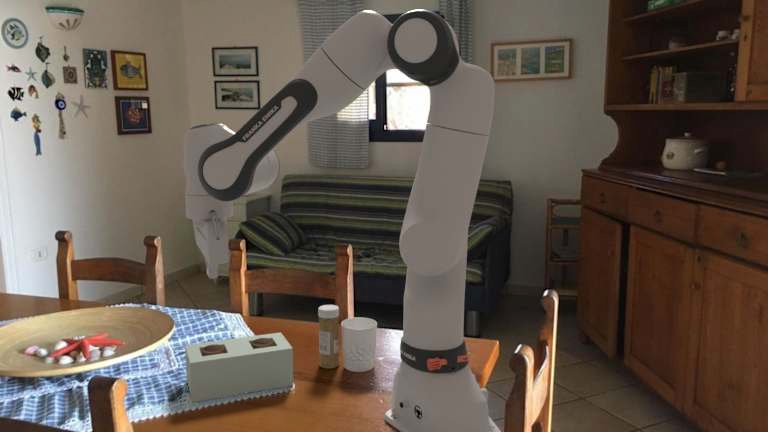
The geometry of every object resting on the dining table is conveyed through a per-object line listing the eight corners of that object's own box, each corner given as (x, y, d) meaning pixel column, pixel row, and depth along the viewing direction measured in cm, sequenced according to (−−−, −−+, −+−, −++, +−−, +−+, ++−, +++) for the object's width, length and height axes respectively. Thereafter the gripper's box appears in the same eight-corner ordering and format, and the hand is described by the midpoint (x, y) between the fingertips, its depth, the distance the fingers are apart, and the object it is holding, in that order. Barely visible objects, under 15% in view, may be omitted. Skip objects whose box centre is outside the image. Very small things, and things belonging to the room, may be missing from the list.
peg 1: (226, 383, 122) (225, 350, 121) (205, 386, 121) (204, 353, 119) (223, 375, 126) (222, 343, 125) (202, 378, 124) (201, 345, 123)
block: (293, 385, 125) (292, 348, 124) (192, 402, 117) (190, 363, 116) (281, 367, 134) (280, 332, 133) (186, 381, 126) (185, 345, 125)
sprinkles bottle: (343, 366, 134) (342, 308, 132) (324, 371, 132) (324, 311, 130) (333, 359, 138) (332, 302, 136) (315, 363, 136) (314, 306, 134)
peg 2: (275, 375, 126) (274, 343, 125) (255, 378, 125) (254, 346, 123) (271, 368, 130) (270, 336, 129) (251, 370, 128) (251, 339, 127)
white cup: (343, 374, 130) (343, 330, 128) (339, 360, 138) (338, 318, 136) (379, 372, 132) (380, 327, 130) (373, 358, 139) (373, 316, 138)
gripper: (235, 214, 110) (238, 288, 112) (218, 200, 128) (220, 264, 131) (199, 216, 107) (202, 292, 110) (187, 202, 126) (190, 266, 128)
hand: (212, 276), depth 120 cm, fingers closed
